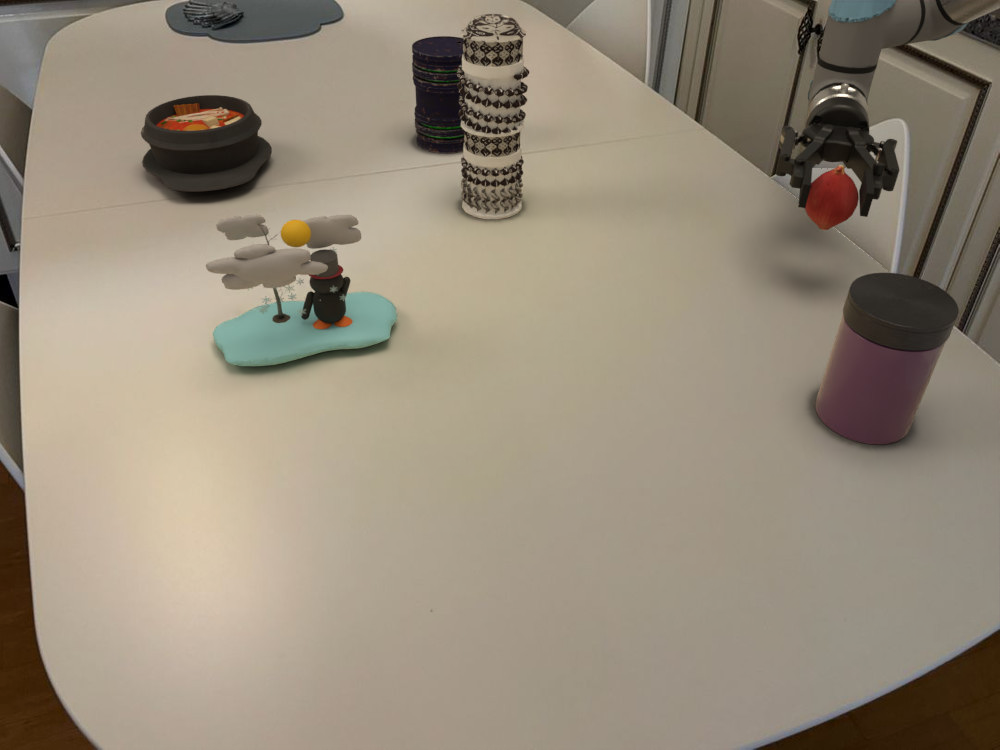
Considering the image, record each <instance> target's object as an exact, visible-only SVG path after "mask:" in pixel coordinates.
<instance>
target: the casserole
mask: <svg viewBox="0 0 1000 750" xmlns="http://www.w3.org/2000/svg"><path fill="white" fill-rule="evenodd" d="M262 122H263V120H262V119H261V117H260V116H259V115H258V114H257V113H256V112H255V111H254V109H253V107H252V105H251V104H250V103H249V102H247V100H243V99H241V98H238V97H234V96H229V95H219V94H217V95H216V94H207V95H206V94H204V95H202V94H201V95H192V96H186V97H180V98H176V99H171V100H169V101H166V102H163V103H160V104H159V105H157V106H155V107H153V108H152V109H150V110H149V111H148V112H147V113H146V115H145V117H144V124H143V125H144V126H143V127H142V128H141V131H140V135H141V138H142V139H143V140H144V142H145V143H147V144H148V145H149V147H150V149H148V150H147V151H146V152H145V154H144V156H143V158H142V162H141V163H142V167H143V168H144V169H145V171H146V172H147V173H149V174H150V175H153V177H155V178H157V179H159V180H160V181H161V182H162V183H163V184H164V186H165V187H166V188H168V189H170V190H173V191H176V192H183V193H186V192H187V193H193V192H194V193H200V192H213V191H219V190H226V189H230V188H234V187H238V186H241V185H244V184H246V183H248V182H250V181H251V180H253V179H254V178H255V176H256V175H257V173H258V171H259V169H260V168H261V166H262V165H264V164H265V163H266V161H268V159H269V158H270V157H271V155H272V151H273V150H272V146H271V144H270V142H268V140H266V138H265V139H264V137H262V136H259V131H260V129H261V128H262Z"/></svg>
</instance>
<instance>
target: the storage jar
mask: <svg viewBox="0 0 1000 750" xmlns="http://www.w3.org/2000/svg"><path fill="white" fill-rule="evenodd" d="M411 53H412V55H411V56H412V58H411V59H412V62H411V72H412V81H413V85H414V87H415V89H414V90H415V107H414V128H415V134H416V145H417V146H418V147H419V148H421V149H422V150H425V151H427V152H431V153H435V154H457V153H463V146H464V142H465V140H464V134H465V130H464V129H463V128H462V127H461V119H460V114H459V111H460V109H461V107H460V104H459V99H460V95H461V94H460V93H459V88H458V87H457V84H458V83H459V77H457V72H458V67H459V66H461V65H462V55H463V53H464V52H463V37H459V36H451V35H449V36H448V35H441V36H438V35H437V36H429V37H425V38H424V37H423V38H420V39H418V40H416V41H414V42H413V43H412V44H411ZM462 75H464V74H463V73H462ZM463 86H464V89H465V85H464V84H462V87H463ZM464 103H465V100H464ZM464 113H465V111H464Z"/></svg>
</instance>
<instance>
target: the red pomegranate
mask: <svg viewBox="0 0 1000 750" xmlns="http://www.w3.org/2000/svg"><path fill="white" fill-rule="evenodd" d="M845 168H846V166H845V165H844V164H838V165H837V166H836V167H835V168H832V169H831V170H828V171H825V172H823V173H821V174H820V175H819V176H818V177H816V178H815V179H814V180H813V181H811V187H810V191H809V195H808V199H807V203H806V207H805V208H804V210H805V213H806V215H807V217H808V218H809V219H810V220H811V221H812V222H813V224H815V225H816V226H817V227H818V229H820V230H822V231H828V230H830V229H833V228H834V227H836V226H838V225H840V224H842V223H844V222H846V221H847V220H849V219H850V218H851V217H852V216H853V215H854V213H855V211H856V209H857V207H858V205H859V201H860V200H859V190H858V188H857V186H856V185H857V184H856V183H855V181H854V179H853V178H852V177H851V176H850V175H848V174H847V173H846V171H845Z"/></svg>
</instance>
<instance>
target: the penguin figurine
mask: <svg viewBox="0 0 1000 750" xmlns="http://www.w3.org/2000/svg"><path fill="white" fill-rule="evenodd" d="M265 223H266V218H265V217H264V216H262V215H260V214H249V215H243V216H240V215H235V216H229V217H226V218H223V219H221V220H219V221H218V222H217V224H216V225H215V226H216V230H217V231H218V232H220V233H222V234H224V236H225V237H226V239H227V240H228V241H240V240H244V239H246V238H261V237H265V240H266V243H256V244H254V243H252V244H251V245H248V246H243V247H241V248H239V249H236V250H234V251H233V255H234V256H229V257H222V258H218V259H213V260H212V261H209V262H206V264H205V268H206V270H207V271H208V272H210V273H212V274H218V275H223V276H222V277H221V283H222V284H223V286H224V288H225V289H226V290H231V291H237V290H238V291H239V290H247V291H248V292H249V291H250V289H252V290H253V289H254V288H256V287H258V286H260V285H262V286H263V288H265V289H272V291H273V293H274V297H275V302H272V301H271V297H267V296H266V295H265V298H264V297H263V298H262V301H261V303H264V304H261V305H260V306H256V307H253V308H251V309H249V310H248V311H245V312H244V313H242V314H240V315H238V316H236V317H233V318H231V319H228V320H225V321H222V322H221V323H219V324H218V325H217V326H216V327H215V328H214V330H213V331H212V337H213V340H214V343H215V345H216V346H217V347H218V349H219V350H220V351H221V352H222V354H223V356H224V359H225V361H226V362H227V363H228V364H230V365H234V366H239V367H267V366H275V365H280V364H284V363H289V362H292V361H295V360H300V359H302V358H306V357H308V356H309V357H311V356H314V355H316V354H320V353H325V352H329V351H337V350H354V349H362V348H367V347H370V346H373V345H377V344H379V343H382V342H385V341H387V340H388V339H390V338H391V331H392V327H393V326H394V324H396V321H397V319H398V313H397V307H396V305H395V304H394V303H393V302H392V301H391V300H389V299H388V298H387V297H385V296H384V295H382V294H379V293H375V292H370V291H355V292H348V291H349V288H350V285H351V282H352V281H351V278H350V277H349V276H344V277H343V275H342V274H343V272H344V267H343V266H342V265H340V264H339V259H338V251H337V248H335V247H334V246H333V245H339V246H345V245H352V244H356V243H359V242H360V241H362V233H361V230H360V229H359V228H357V227H355V226H358V225H359V220H358V218H357V217H356V216H354V215H352V214H337V215H330V216H325V215H321V216H313V217H309V218H307V219H304V220H301V219H291V220H289V221H286V222H285V223H284V224H283V225H282V226H281V229H280V238H281V240H282V242H283V243H284V244H285V245H287V246H288V247H291V248H281V249H276V248H275V247H274V246H273V245H270V241H271V240H273V241H275V240H276V237H277V236H278V235H279V233H276V234H275V235H274V236H273V237H272V238H270V239H268V237H270V235H269V233H270V232H269V228H268V226H267V225H265ZM267 236H268V237H267ZM305 245H306V247H307V248H308V249H312V250H315V249H318V250H315V251H313V252H311V251H309V250H308V249H303V248H301V247H304V246H305ZM331 246H332V248H330V249H324V248H327V247H331ZM298 275H300V276H309V277H310V278H309V282H308V283H309V286H310V288H311V289H312V290H313V291H311V290H310V291H308V292H307V293H306V296H305V299H304V300H294V299H298V297H296V296H297V294H293V293H291V292H292V291H295V289H294V287H295V286H294V285H292V286H290V285H291V284H292V283H295V282H296V281H297V282H296V284H297V285H298V284H299V285H300V286H302V284H304V283H305V282H303V281H304V279H301V278H299V280H297V277H296V276H298ZM278 288H279V290H278ZM282 288H284V289H285V294H286V293H291V294H287V297H288V298H287V299H288V300H284V299H285V297H282V296H283V295H284V290H282ZM280 291H281V294H280V295H279V292H280Z"/></svg>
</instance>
